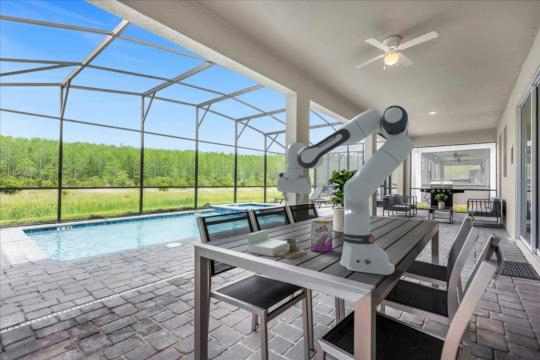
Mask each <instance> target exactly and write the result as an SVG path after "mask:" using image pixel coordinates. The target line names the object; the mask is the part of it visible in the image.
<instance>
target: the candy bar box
mask: <svg viewBox="0 0 540 360" xmlns="http://www.w3.org/2000/svg"><path fill="white" fill-rule="evenodd" d="M333 225H334V224H333V220H332V219H318V218H315V219H314V218H311V220H310V250H311V252H325V253H327V252H330V253H332V252H333Z"/></svg>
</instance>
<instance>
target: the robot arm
mask: <svg viewBox="0 0 540 360" xmlns="http://www.w3.org/2000/svg"><path fill="white" fill-rule="evenodd" d="M409 124H410V123H409V115H408V113H407V111H406V109H405V108H404V107H402V106H401V105H397V104H395V105H389V106H388V107H386V108H384V109H383V111H382V112H380V111H379V110H378V109H375V108H370V109H367V110H365V111H363V112H361V113H359V114H357V115H355V116H354V117H353V118H350V120H348V121H347V122H346V123H344V124H343V125H341V127H339V128H338V129H337V130H336V131H334V132H333V133H332V134H330V135H328V136H325V138H323V139H321V140H320V141H319V142H316V143H315V144H312V145H305V144H304V143H303V142H300V141H299V142H298V141H297V142H292V143H289V145H288V147H287V149H286V157H285V159H286V166H285V170H284V171H280V172H279V173H278V174H277V177H278V179H277V182H276V183H277V184H276V189H277V191H278V192H280V193H281V192H282V196H283V201H285V202H288V201H289V197H288V195H287V194H288V193H293V194H299V198H298V199H297V202H298V203H299V204H302V203H303V200H304V198H305V196H306V195H310V194H311V193H312V178H311V177H310V176H309V175H308V174H304V169H310V170H313V169H317V168H319V167H320V166H321V165H322V164H323V161H324V158H323V157H324V156H325V155H327V154H329V153H331V151H333V150H335V149H337V148H339V147H341V146H352V145H355V144H357V143H360V142H361V141H363V140H365V139H366V138H368V137H370V136H371V135H372V134H375V133H377V134H378V136H380V137H381V138H383V139H385V142H384V143H383V144H382V145H381V146H380V147H379V148H378V149H377V150H376V151H375V152H374V153H373V154H372V155H371V156H370V157H369V159H368V160H367V161H365V163H364V164H363V165H362V166H361V167H360V168H359V169H358V170H357V171H356V172H355V173H354V174H353V176H351V178H349V179H347V180H346V181H345V183H344V185H343V232H342V239H341V240H342V244H343V247H342V253H341V257H340V261H339V265H341V266H342V267H344V268H346V269H347V270H348V271H351V272H352V271H354V272H360V273H369V274H375V275H376V274H377V275H382V276H383V275H384V276H388V275H392V274H393V273H394V272H395V271H396V268H395V265H394V264H393V263H390V260H389V256H388V252H386V251H385V250H383V249H382V247H380V246H379V245H377V244H376V241H375V240H376V238H375V236H376V235H373V234H371V213H370V201H369V199H370V198H371V197H372V195H373V194H374V193H375V192H376V191H377V190H378V189H379V188H380V187H381V185H382V184H383V183H384V182H385V181H386V179H388V178H389V177H390V176H391V175H392V173H394V172H395V171H396V170H397V168H398V167H400V166H401V164H402V163H404V161H405V160H406V159H407V158H408V156H409V155H410V154H411V152H412V151H413V148H414V143H413V140H412V139H411V138H410V137H409V136H407V135H408V132H409Z"/></svg>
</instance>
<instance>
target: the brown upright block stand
mask: <svg viewBox="0 0 540 360" xmlns="http://www.w3.org/2000/svg"><path fill="white" fill-rule="evenodd" d="M286 241H287V243H284V249H283V251H282V252H279V253H276V255H275V256H276V257H280V258H283V259H288V260H293V259H296V258H298V257H301V256H302V255H305V254H306V253H307V250H304V249H300V245H299V244H300V242H299V240H298V239H296V237H288V238H287V239H286Z"/></svg>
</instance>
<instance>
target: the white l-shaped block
mask: <svg viewBox="0 0 540 360" xmlns="http://www.w3.org/2000/svg"><path fill="white" fill-rule="evenodd" d="M284 243H287V240H286V241H285V240H280V239H272V238H269V229H263V230H260V231H256V232H252V233H249V234H247V252H248V253H251V254H257V255H262V256H267V257H275V256H276V253H279V252H282V251H283V249H284Z"/></svg>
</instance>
